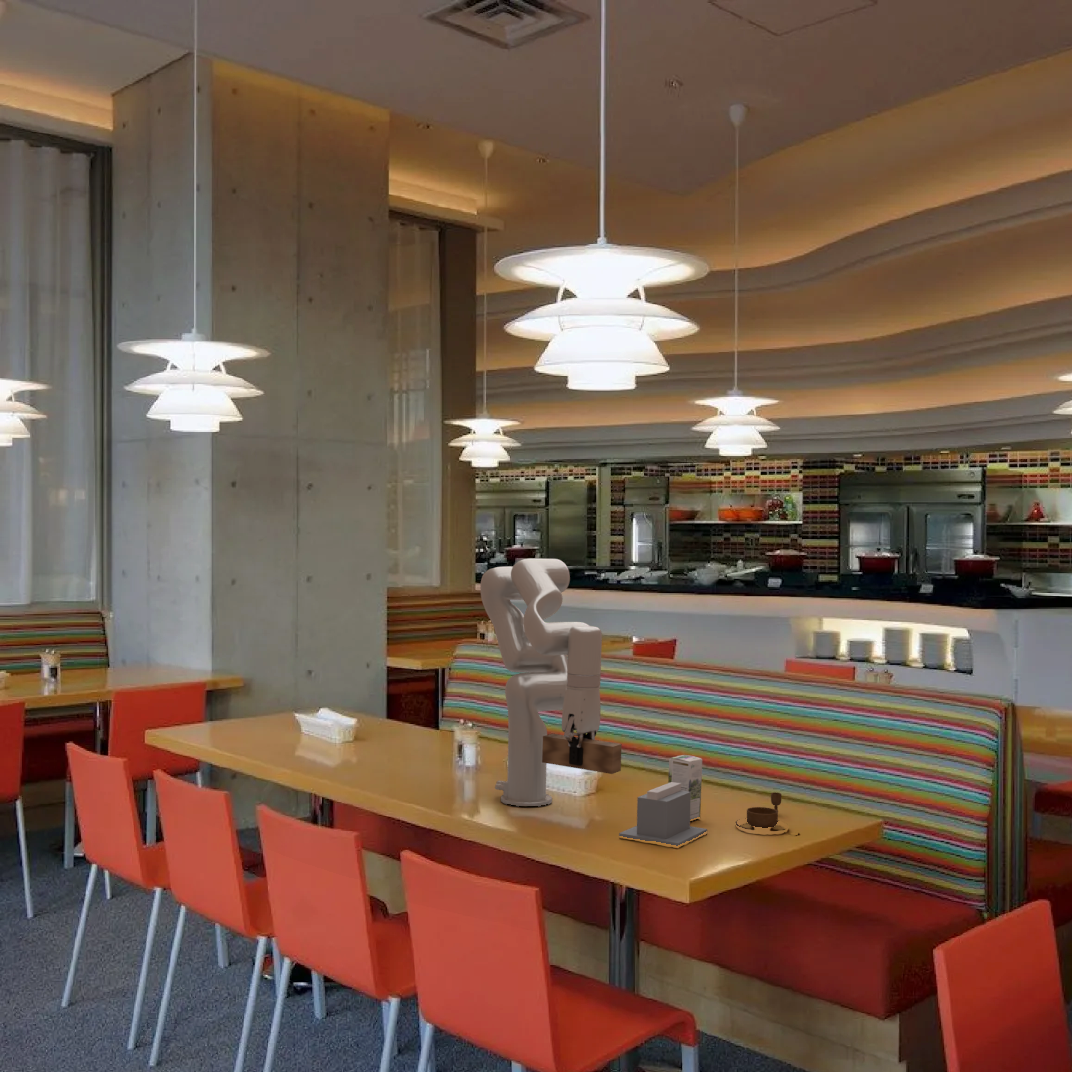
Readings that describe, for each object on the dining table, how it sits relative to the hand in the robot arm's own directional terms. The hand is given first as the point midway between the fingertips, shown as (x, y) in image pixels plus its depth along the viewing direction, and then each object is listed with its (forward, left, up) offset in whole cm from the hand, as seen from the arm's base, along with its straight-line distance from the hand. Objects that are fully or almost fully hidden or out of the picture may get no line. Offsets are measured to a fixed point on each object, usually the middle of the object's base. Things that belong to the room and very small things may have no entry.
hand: (581, 762), depth 264 cm
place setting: (+35, +28, -16) cm, 48 cm away
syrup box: (+15, +22, -15) cm, 31 cm away
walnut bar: (0, 0, -1) cm, 1 cm away
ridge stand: (+18, +5, -15) cm, 24 cm away
